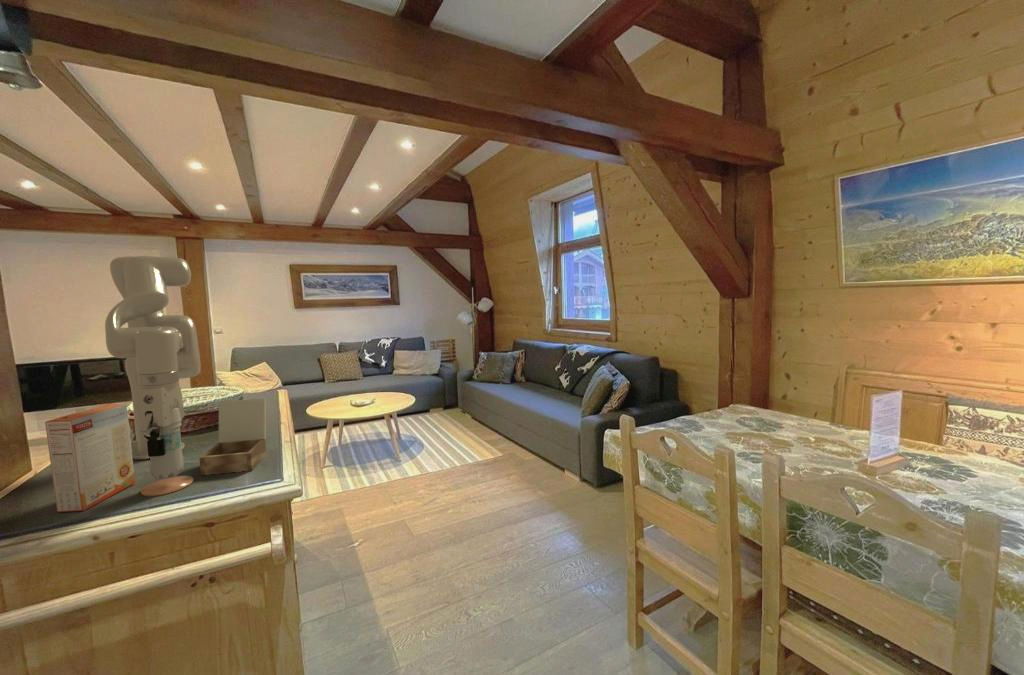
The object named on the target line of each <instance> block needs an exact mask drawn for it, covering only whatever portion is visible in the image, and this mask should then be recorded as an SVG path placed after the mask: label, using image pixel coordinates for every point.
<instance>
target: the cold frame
mask: <svg viewBox="0 0 1024 675" xmlns="http://www.w3.org/2000/svg"><path fill="white" fill-rule="evenodd" d="M266 444H267V443H266V439H258V440H246V441H235V442H223V443H219V442H218V443H216V445H214V446H213V447H212V448H210V449H208V451H206V452H205V453H203V454H202V455H201V456H200V457H199V469H200V476H201V475H207V476H210V475H209V474H216V475H220V474H219V473H226V474H232V473H231V472H236V473H242V471H245V472H252V471H253V470H255V468H256V467H257V466H258V465H259V464H260V462H262V460H264V458H265V457H266V456H267V447H266V446H267V445H266ZM258 463H259V464H258ZM257 464H258V465H257Z"/></svg>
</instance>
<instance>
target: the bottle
mask: <svg viewBox="0 0 1024 675" xmlns="http://www.w3.org/2000/svg"><path fill="white" fill-rule="evenodd" d="M181 426H182V419H181V416H180V412H179V408H175V409H173V410H172V424H171V425H170V426H168V427H165V428H163V434H162V439H164V443H165V455H163V456H154V457H150V460H149V461H150V462H149V470H150V471H149V472H150V475H151V476H152V477H153V478H155V479H156V480H161V479H162V476H163V479H167V478H170V477H169V476H170V474H171V475H172V477H176V476H179V475H180V474H181V473H183V470H184V455H183V449H181V442H182V439H181V438H182V436H181V435H182V434H181ZM151 427H158V425H157V424H152V425H151ZM152 431H155V432H156V433H157V431H158V429H157V430H152Z"/></svg>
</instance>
